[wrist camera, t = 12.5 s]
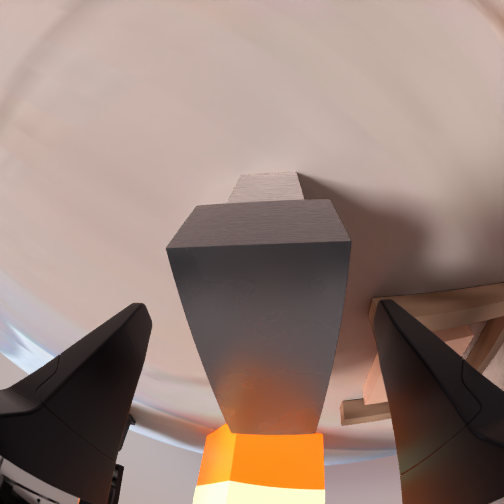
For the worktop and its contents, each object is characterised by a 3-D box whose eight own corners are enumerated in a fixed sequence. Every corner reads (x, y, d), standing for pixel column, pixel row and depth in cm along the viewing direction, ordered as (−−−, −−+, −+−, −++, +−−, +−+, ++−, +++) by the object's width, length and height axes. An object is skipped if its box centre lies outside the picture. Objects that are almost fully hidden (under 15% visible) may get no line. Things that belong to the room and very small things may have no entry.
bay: (339, 408, 17) (341, 425, 16) (372, 297, 12) (380, 321, 10) (456, 384, 16) (461, 398, 15) (516, 280, 10) (528, 295, 9)
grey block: (247, 323, 13) (231, 433, 8) (226, 168, 10) (165, 248, 4) (307, 321, 13) (315, 433, 8) (309, 163, 9) (351, 241, 4)
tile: (361, 384, 16) (364, 404, 15) (382, 326, 13) (390, 350, 12) (431, 372, 16) (437, 390, 14) (462, 315, 13) (474, 335, 11)
